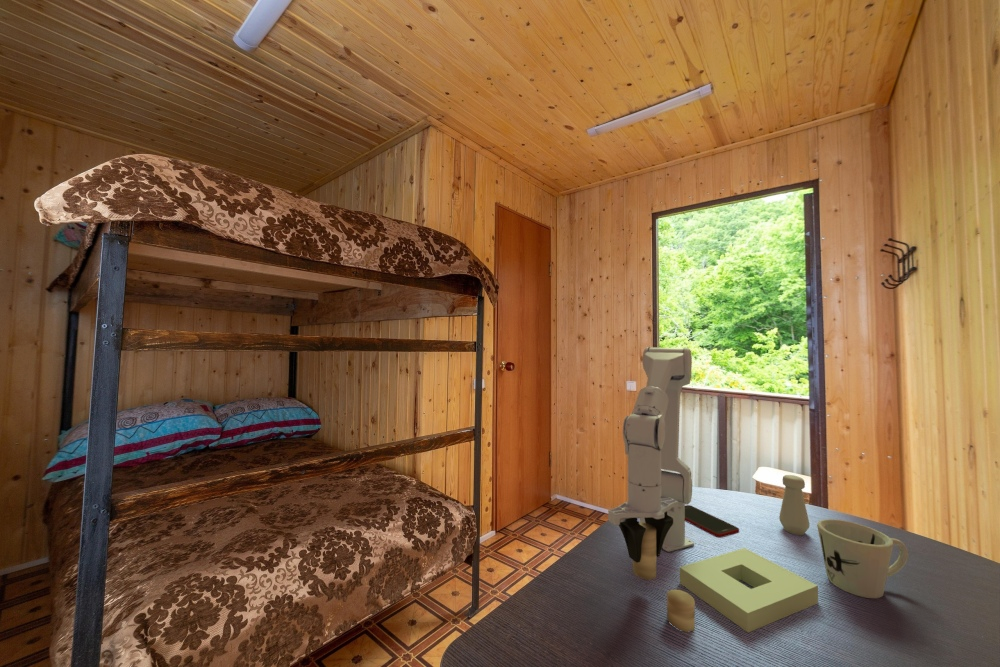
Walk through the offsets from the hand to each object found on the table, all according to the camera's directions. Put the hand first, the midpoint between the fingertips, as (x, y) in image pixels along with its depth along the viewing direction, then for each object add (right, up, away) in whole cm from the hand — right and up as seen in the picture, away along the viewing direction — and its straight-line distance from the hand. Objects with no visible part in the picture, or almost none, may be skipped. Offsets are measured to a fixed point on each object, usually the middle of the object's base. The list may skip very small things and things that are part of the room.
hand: (644, 556), depth 68 cm
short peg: (+3, -6, -8) cm, 10 cm away
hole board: (+18, -6, 0) cm, 19 cm away
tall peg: (0, -3, 0) cm, 3 cm away
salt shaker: (+45, -7, +22) cm, 50 cm away
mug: (+42, -7, +2) cm, 43 cm away
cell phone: (+25, -8, +27) cm, 38 cm away
